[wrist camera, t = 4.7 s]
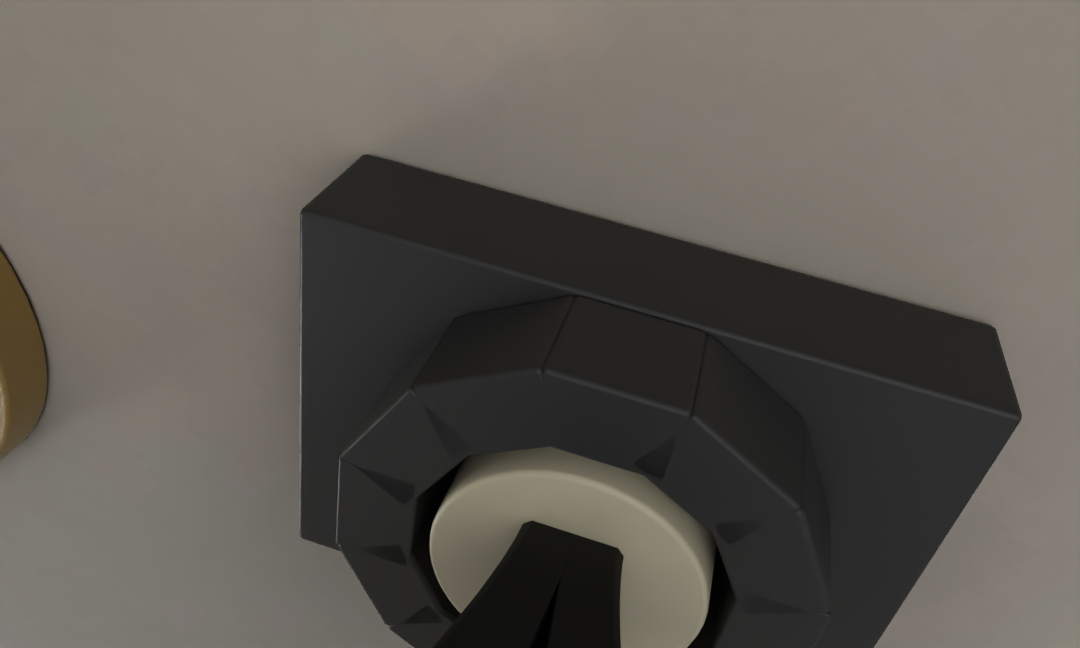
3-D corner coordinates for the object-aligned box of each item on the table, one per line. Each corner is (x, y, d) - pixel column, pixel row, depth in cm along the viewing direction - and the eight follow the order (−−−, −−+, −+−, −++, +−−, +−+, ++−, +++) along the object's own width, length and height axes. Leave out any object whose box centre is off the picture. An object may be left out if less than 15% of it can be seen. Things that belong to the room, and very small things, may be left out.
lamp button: (755, 441, 12) (746, 531, 11) (682, 615, 14) (667, 710, 13) (483, 359, 13) (440, 436, 11) (454, 541, 15) (416, 623, 14)
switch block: (997, 325, 13) (1056, 518, 10) (829, 616, 17) (831, 821, 14) (363, 151, 14) (227, 271, 11) (348, 460, 18) (246, 616, 15)
